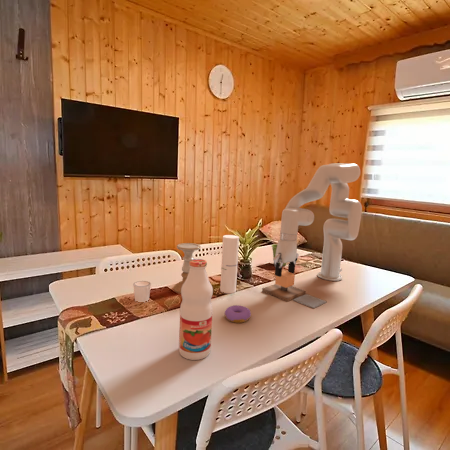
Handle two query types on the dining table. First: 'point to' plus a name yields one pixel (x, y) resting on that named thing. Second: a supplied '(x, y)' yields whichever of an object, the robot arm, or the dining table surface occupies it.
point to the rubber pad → (309, 301)
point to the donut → (237, 314)
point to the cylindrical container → (229, 263)
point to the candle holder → (186, 262)
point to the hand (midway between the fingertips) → (284, 274)
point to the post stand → (284, 292)
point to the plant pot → (275, 252)
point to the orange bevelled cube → (285, 279)
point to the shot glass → (142, 291)
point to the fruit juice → (196, 313)
